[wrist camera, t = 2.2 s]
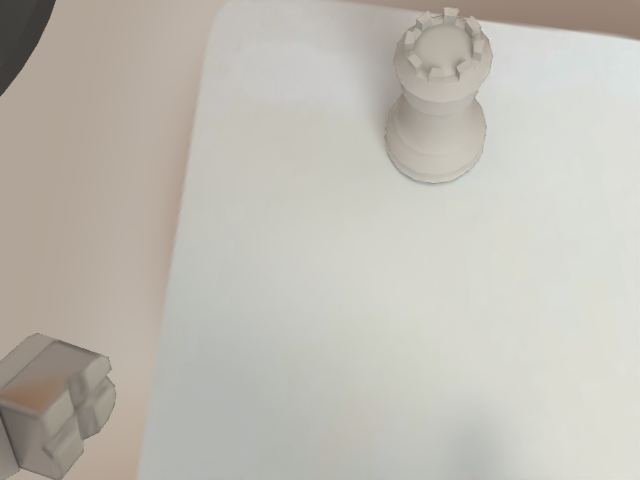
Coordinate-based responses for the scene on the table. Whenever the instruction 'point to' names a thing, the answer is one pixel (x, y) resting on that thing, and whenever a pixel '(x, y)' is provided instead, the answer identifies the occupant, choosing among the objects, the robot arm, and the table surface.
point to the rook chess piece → (439, 97)
